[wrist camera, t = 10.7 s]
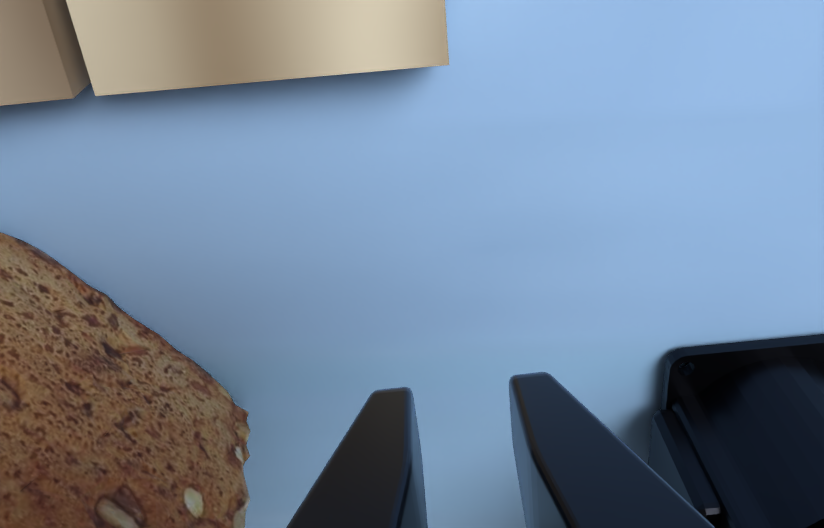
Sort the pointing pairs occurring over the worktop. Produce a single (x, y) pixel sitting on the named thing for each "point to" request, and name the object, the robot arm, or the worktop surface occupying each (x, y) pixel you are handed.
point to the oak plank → (251, 40)
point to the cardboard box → (39, 52)
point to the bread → (106, 413)
